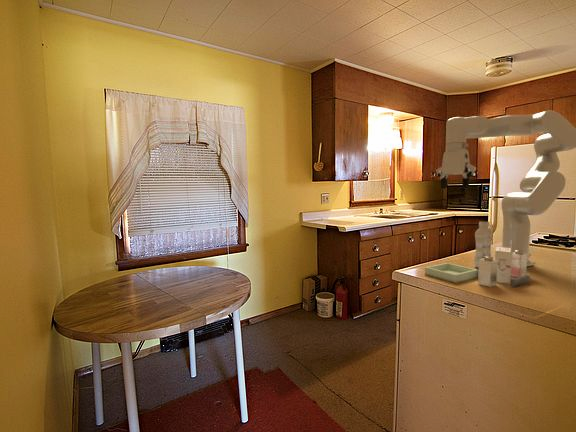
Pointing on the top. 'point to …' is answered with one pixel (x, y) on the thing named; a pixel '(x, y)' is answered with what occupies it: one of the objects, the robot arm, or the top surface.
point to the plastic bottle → (482, 242)
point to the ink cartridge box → (504, 264)
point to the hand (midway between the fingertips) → (454, 188)
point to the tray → (451, 272)
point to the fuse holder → (489, 270)
